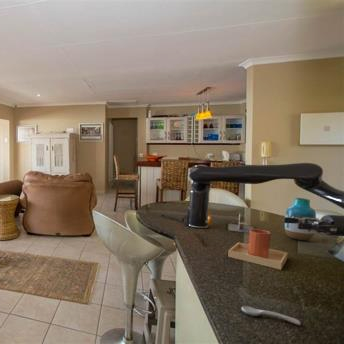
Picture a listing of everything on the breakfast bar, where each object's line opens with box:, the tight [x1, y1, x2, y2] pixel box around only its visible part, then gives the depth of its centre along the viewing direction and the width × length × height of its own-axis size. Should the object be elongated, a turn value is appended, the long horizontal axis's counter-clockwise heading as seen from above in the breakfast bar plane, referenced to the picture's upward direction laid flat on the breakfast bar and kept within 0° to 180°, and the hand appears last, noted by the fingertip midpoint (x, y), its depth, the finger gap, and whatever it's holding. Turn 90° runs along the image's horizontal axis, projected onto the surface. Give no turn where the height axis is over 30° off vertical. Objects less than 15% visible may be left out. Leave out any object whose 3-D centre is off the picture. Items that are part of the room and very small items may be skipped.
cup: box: [247, 228, 271, 259], centre depth 112 cm, size 6×6×10 cm
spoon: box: [241, 305, 302, 326], centre depth 73 cm, size 3×12×2 cm, turn 65°
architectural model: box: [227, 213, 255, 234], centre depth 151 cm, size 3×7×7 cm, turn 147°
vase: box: [284, 197, 317, 241], centre depth 134 cm, size 11×11×19 cm
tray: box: [227, 242, 289, 271], centre depth 112 cm, size 16×14×3 cm
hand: (290, 222), depth 110 cm, fingers open, 8 cm apart
